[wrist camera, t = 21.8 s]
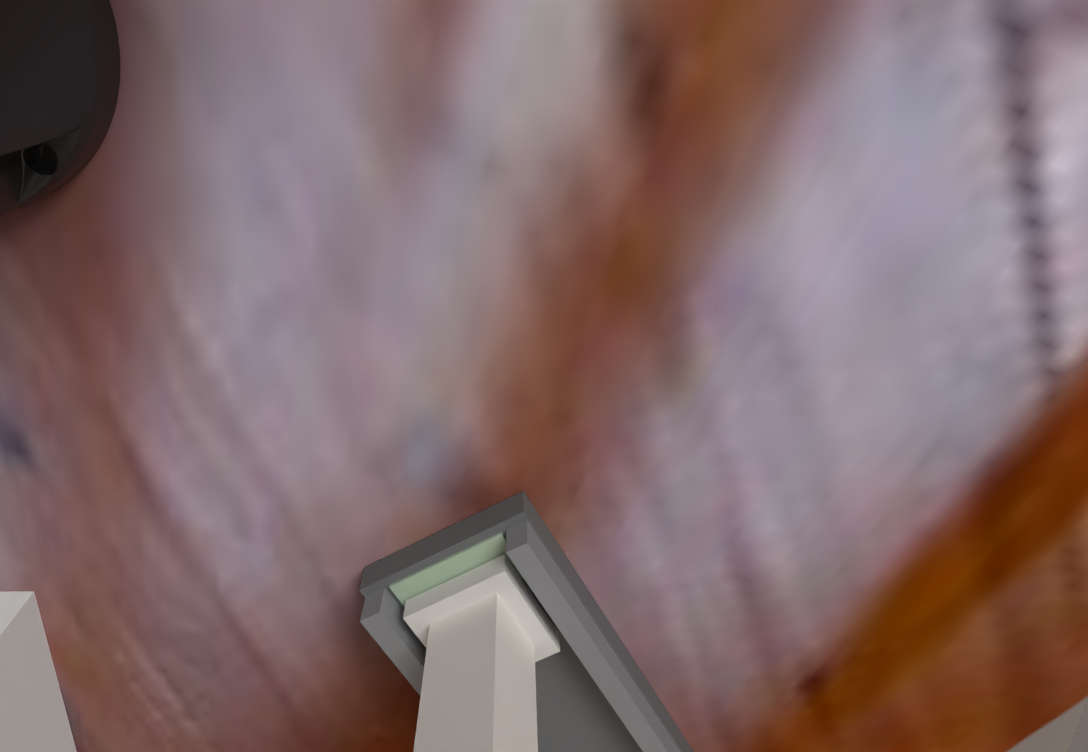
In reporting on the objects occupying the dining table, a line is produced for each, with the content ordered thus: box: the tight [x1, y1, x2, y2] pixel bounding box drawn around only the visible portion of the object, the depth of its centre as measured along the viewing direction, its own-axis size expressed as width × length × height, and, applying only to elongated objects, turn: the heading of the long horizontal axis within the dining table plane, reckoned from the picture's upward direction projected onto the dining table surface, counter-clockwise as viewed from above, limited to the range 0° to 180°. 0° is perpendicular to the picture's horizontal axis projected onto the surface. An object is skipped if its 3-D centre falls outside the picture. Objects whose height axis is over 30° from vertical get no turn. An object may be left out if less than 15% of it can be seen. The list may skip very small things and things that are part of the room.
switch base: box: [359, 491, 694, 752], centre depth 51 cm, size 26×10×4 cm, turn 28°
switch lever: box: [403, 554, 560, 752], centre depth 41 cm, size 6×6×13 cm
